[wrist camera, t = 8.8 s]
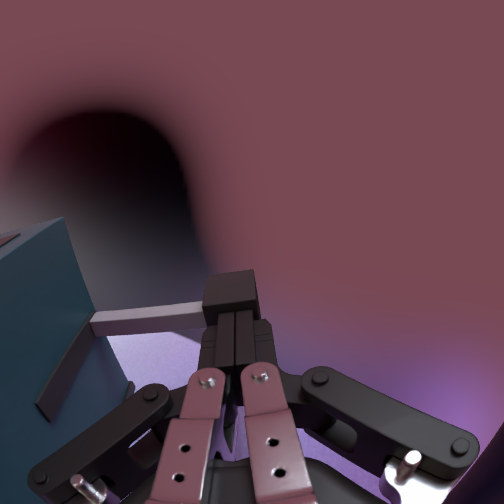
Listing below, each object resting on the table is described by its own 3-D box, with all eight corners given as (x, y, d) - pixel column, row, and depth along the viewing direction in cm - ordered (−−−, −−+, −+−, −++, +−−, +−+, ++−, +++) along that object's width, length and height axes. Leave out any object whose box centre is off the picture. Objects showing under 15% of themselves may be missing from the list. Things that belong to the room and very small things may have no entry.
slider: (260, 314, 17) (253, 268, 16) (264, 348, 14) (256, 298, 13) (112, 329, 17) (96, 289, 16) (95, 361, 15) (75, 317, 13)
